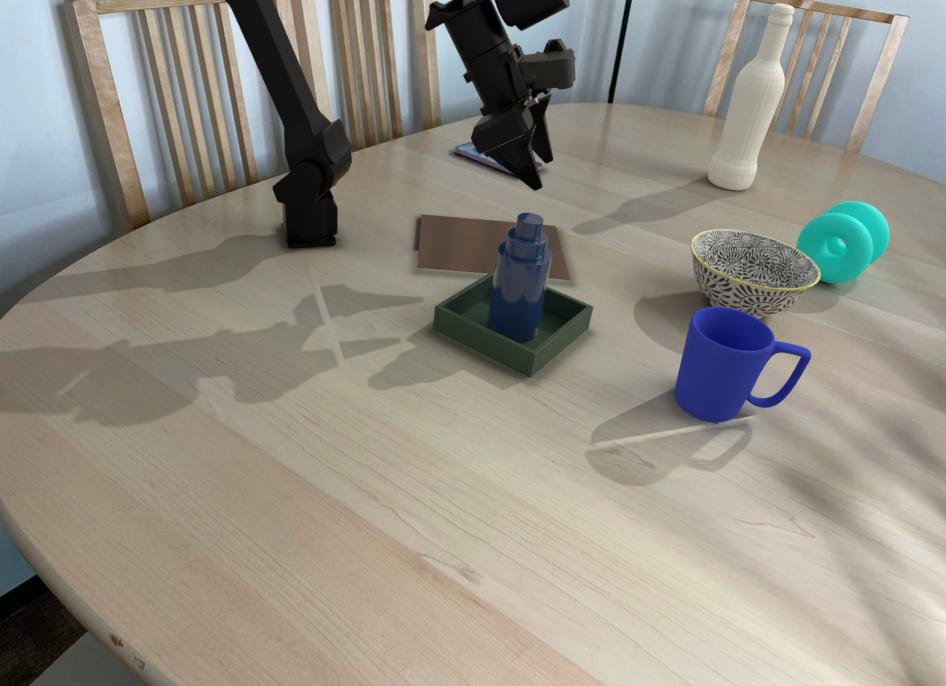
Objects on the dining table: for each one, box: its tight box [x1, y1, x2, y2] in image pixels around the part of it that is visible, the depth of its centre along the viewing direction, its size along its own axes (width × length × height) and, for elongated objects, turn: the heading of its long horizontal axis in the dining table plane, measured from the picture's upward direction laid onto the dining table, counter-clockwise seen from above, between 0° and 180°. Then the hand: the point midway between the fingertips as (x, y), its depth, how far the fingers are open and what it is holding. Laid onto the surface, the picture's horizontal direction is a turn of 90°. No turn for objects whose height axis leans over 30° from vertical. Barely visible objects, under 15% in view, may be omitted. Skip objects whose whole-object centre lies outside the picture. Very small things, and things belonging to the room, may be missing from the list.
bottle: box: [707, 2, 795, 192], centre depth 126 cm, size 8×8×30 cm
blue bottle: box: [487, 212, 552, 343], centre depth 82 cm, size 6×6×14 cm
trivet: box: [417, 213, 571, 281], centre depth 103 cm, size 20×16×1 cm
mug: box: [674, 306, 812, 424], centre depth 76 cm, size 8×12×10 cm
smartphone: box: [454, 140, 544, 176], centre depth 131 cm, size 7×1×15 cm
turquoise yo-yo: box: [795, 200, 890, 284], centre depth 106 cm, size 10×10×10 cm
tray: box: [432, 270, 594, 378], centre depth 86 cm, size 13×13×4 cm
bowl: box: [689, 228, 821, 320], centre depth 95 cm, size 16×16×8 cm
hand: (544, 174), depth 89 cm, fingers open, 9 cm apart
